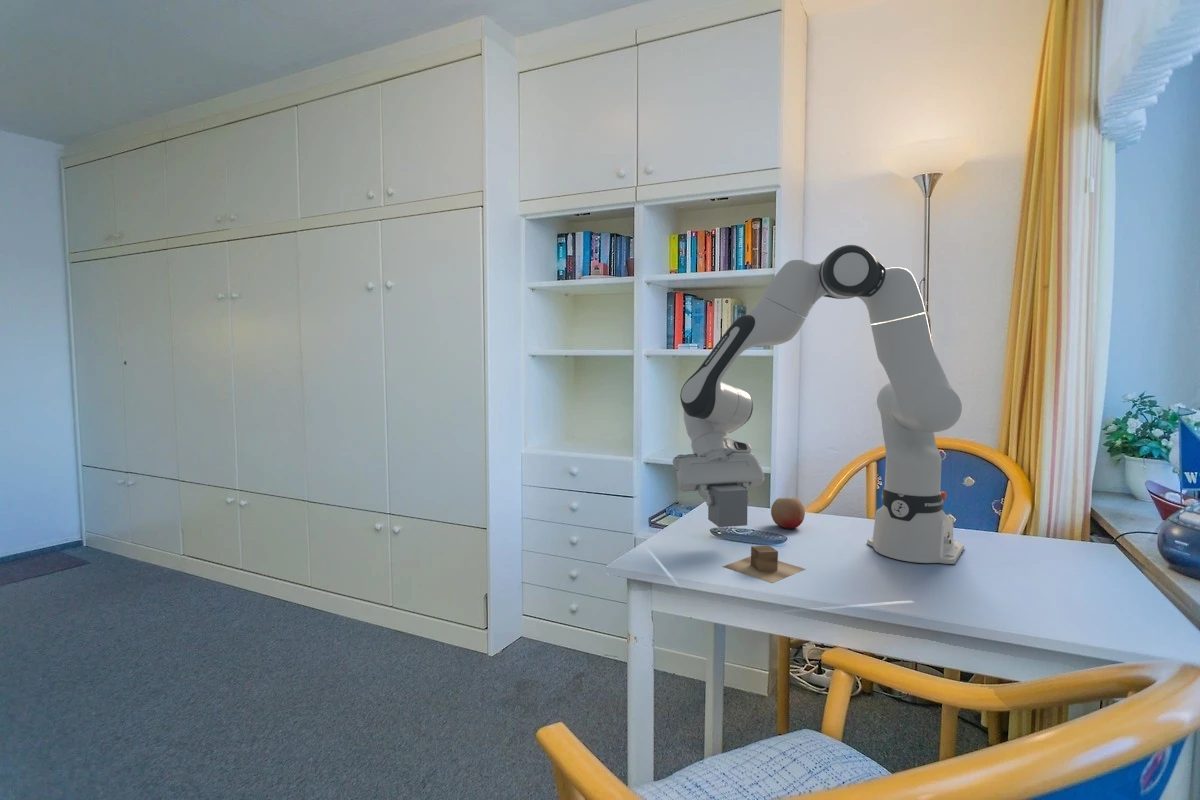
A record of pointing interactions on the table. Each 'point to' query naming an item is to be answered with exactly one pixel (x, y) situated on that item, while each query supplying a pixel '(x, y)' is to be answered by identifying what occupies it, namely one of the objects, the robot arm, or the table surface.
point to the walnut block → (764, 558)
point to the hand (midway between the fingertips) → (728, 503)
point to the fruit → (788, 512)
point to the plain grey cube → (728, 505)
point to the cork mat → (769, 576)
